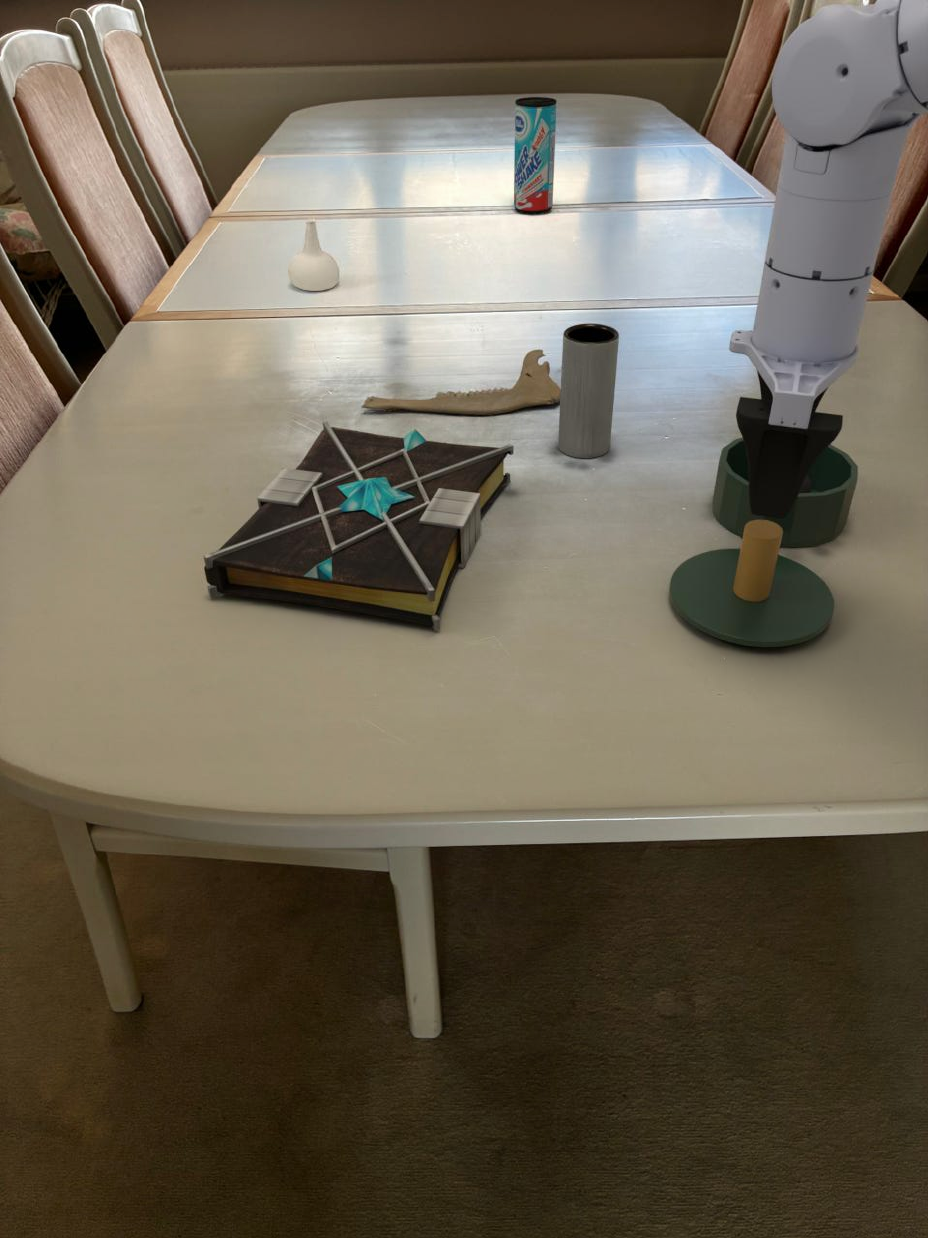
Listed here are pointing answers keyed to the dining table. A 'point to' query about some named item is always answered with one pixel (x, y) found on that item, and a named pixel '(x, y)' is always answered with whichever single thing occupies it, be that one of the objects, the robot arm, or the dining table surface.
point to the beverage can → (534, 154)
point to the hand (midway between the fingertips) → (773, 483)
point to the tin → (811, 512)
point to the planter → (587, 389)
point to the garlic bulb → (313, 264)
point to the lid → (752, 592)
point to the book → (364, 525)
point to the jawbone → (486, 394)
